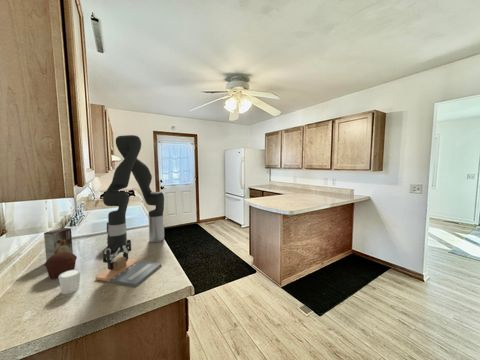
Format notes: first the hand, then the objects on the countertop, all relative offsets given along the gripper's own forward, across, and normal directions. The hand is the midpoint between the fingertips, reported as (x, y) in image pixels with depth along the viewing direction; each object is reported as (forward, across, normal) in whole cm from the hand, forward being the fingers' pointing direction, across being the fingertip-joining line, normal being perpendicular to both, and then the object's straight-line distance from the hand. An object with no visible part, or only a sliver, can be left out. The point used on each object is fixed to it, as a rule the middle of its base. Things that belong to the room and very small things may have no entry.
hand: (118, 265), depth 96 cm
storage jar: (+3, -25, -26) cm, 37 cm away
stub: (+3, 0, 0) cm, 3 cm away
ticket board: (+3, 0, +11) cm, 11 cm away
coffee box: (+3, -2, -40) cm, 40 cm away
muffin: (+3, +9, -23) cm, 25 cm away
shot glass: (+3, +17, -7) cm, 19 cm away
